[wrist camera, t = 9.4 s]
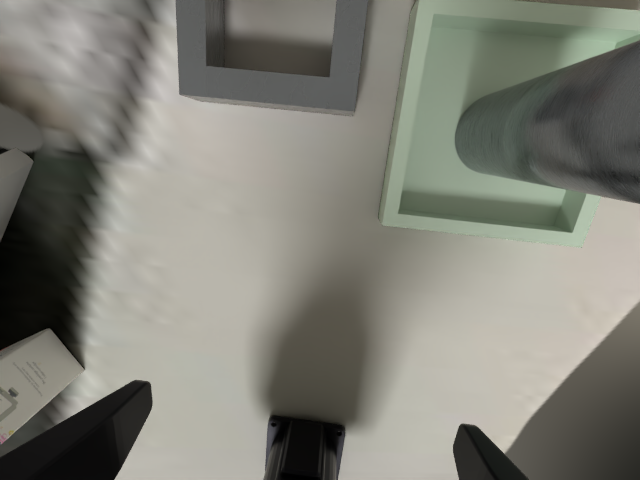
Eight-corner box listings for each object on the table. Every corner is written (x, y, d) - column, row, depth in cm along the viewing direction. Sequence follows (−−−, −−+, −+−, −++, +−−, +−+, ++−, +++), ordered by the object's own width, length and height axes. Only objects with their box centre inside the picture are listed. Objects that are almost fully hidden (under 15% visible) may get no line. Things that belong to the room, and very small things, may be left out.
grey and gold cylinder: (500, 200, 19) (1030, 381, 4) (425, 152, 18) (745, 172, 4) (568, 116, 17) (1801, -50, 3) (488, 60, 16) (1483, -529, 2)
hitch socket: (353, 116, 18) (354, 111, 16) (200, 101, 19) (179, 94, 16) (377, -83, 15) (383, -125, 13) (196, -96, 16) (169, -139, 13)
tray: (556, 236, 20) (581, 247, 17) (377, 217, 20) (382, 225, 18) (628, 30, 16) (671, 12, 14) (410, 12, 16) (420, -8, 14)
